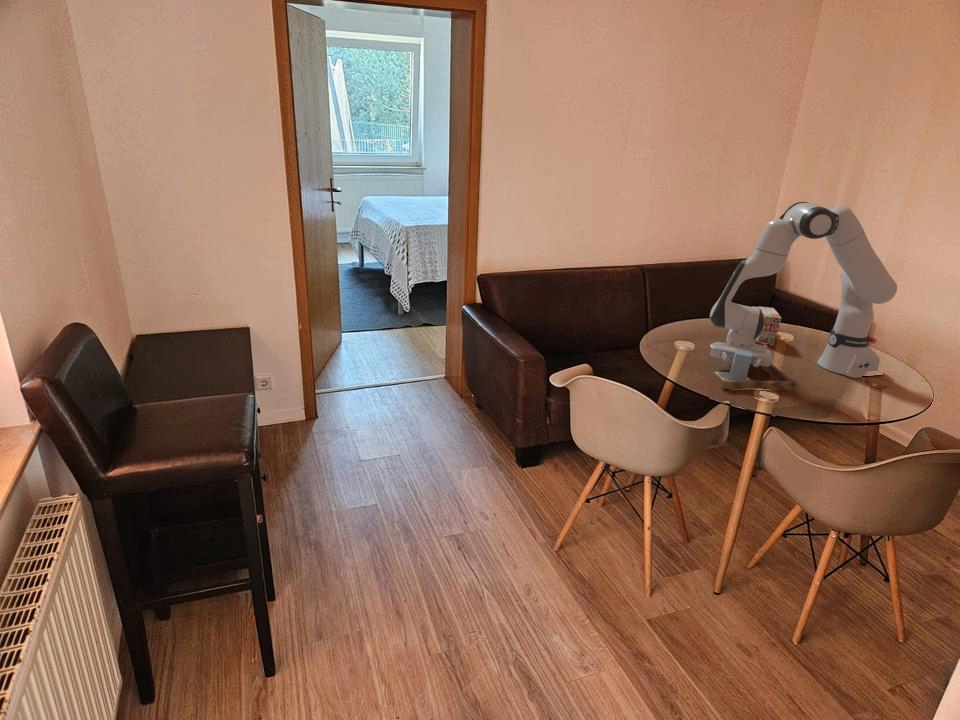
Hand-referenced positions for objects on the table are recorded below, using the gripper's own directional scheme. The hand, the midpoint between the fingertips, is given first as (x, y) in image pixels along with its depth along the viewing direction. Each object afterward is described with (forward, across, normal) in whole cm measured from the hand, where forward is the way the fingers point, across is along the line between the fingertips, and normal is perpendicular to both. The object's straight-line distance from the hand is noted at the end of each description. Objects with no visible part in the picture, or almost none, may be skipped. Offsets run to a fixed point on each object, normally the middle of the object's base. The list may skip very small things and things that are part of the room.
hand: (741, 362), depth 208 cm
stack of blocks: (-54, +11, +7) cm, 56 cm away
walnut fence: (-3, +3, +7) cm, 8 cm away
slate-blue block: (-1, 0, +7) cm, 7 cm away
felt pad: (-1, 0, +7) cm, 7 cm away
